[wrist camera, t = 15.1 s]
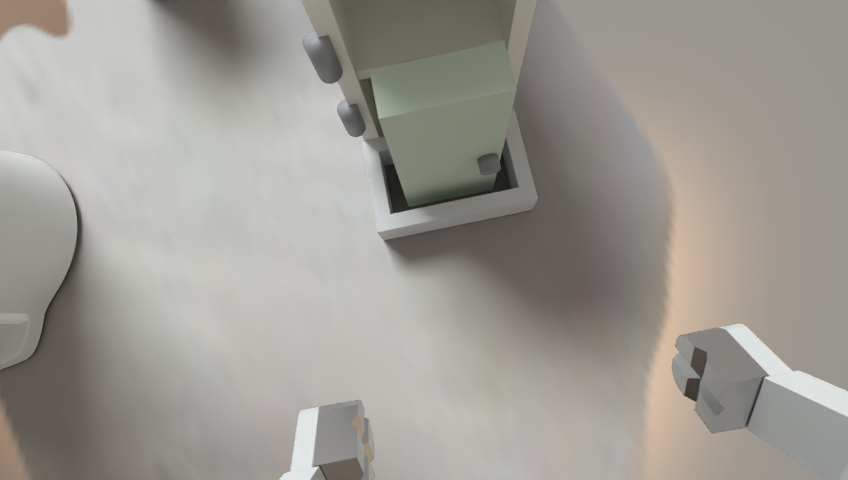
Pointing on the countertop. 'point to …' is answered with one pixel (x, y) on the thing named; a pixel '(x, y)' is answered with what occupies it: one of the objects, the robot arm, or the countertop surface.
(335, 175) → the countertop surface
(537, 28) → the countertop surface
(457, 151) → the door
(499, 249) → the countertop surface
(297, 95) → the countertop surface
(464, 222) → the cabinet
